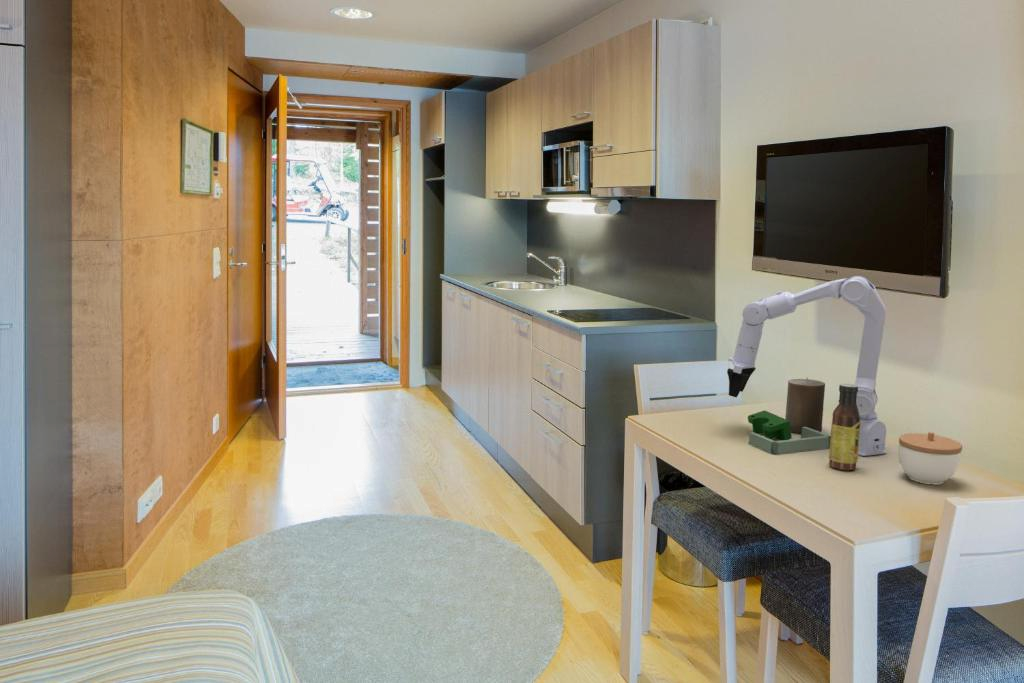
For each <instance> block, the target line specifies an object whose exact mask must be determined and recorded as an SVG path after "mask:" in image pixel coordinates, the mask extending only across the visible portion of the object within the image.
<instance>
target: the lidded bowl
mask: <svg viewBox="0 0 1024 683" xmlns="http://www.w3.org/2000/svg"><path fill="white" fill-rule="evenodd" d="M898 442H899V445H898V458H899V464H900V466H901V468H902V470H903V471H904V472H905V474H906V475H907V476H908V478H909V480H911V481H913V480H914V481H913V482H916V483H919V482H920V484H923V483H924V484H923V485H930V484H933V486H937V485H939V486H940V485H943V484H945V482H946V481H948V480H949V479H951V478H952V477H953V476H954V475H955V474H956V472H957V470H958V468H959V464H960V460H961V455H962V454H961V453H962V451H963V444H962V443H961V442H959V441H957V440H955V439H952V438H949V437H946V436H942V435H936V434H935V432H933V431H928V433H919V432H918V433H915V432H914V433H912V432H911V433H904V434H901V435H900V436H899V438H898Z"/></svg>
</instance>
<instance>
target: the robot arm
mask: <svg viewBox="0 0 1024 683" xmlns="http://www.w3.org/2000/svg"><path fill="white" fill-rule="evenodd" d="M824 298H831V299H834V300H835V299H836V300H839V299H841V298H842V300H844V301H845V303H848V304H849V305H851V306H854V307H855V308H856V309H857V310H858V311H859V312H860V313H861V314H862V315H863V316H864V322H863V323H864V324H863V331H862V336H861V343H860V349H859V354H858V356H859V357H858V363H857V370H856V378H855V382H854V385H857V386H858V392H857V398H856V402H857V403H856V404H857V408H858V411H859V415H860V419H861V422H860V437H859V448H858V456H862V457H868V456H873V455H874V456H875V455H883V454H884V455H885V454H887V453H888V452H887V451H886V450H885V448H886V436H887V427H886V424H885V423H884V422H882V421H880V420H879V418H878V413H876V411H875V409H876V405H877V403H878V401H879V400H878V394H877V392H876V386H877V373H878V369H879V368H878V367H879V362H880V355H881V348H882V341H883V335H884V330H885V329H884V328H885V323H886V322H885V321H886V315H887V308H886V306H885V304H884V301H883V300H882V299H881V296H880V295H879V292H878V291H877V288H876V287H875V285H874V284H873V283H872V282H871V281H870V280H868V279H867V278H866V277H864V276H861V275H854V276H852V277H849V278H847V277H845V278H841V279H836V280H831V281H827V282H825V283H822V284H820V285H816V286H814V287H811V288H809V289H806V290H803V291H799V292H797V293H791V292H790V291H782V290H780V291H777V292H776V294H775V295H772V296H768V297H766V298H764V297H760V298H758V300H759V301H753V302H751V303H749V304H747V305H746V306H744V308H743V310H742V313H741V314H742V315H741V316H742V318H743V319H742V322H741V326H740V329H739V332H738V333H739V334H738V338H737V341H736V345H735V349H734V353H733V357H731V356H729V357H728V358H727V360H728V361H729V362H731V363H732V365H733V369H732V368H727V371H726V374H727V376H728V396H730V397H734V398H736V399H737V398H738V396H739V395H740V393H742V392H744V390H745V388H746V386H747V384H748V381H749V380H750V378H751V376H752V375H753V373H754V372H755V371H756V359H757V354H758V351H759V347H760V342H761V340H762V335H763V329H764V324H765V321H767V320H773V319H777V318H779V317H784V316H787V315H789V314H793V313H794V312H796V310H797V307H799V306H801V305H804V304H808V303H812V302H815V301H817V300H821V299H824Z"/></svg>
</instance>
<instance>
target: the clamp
mask: <svg viewBox="0 0 1024 683" xmlns="http://www.w3.org/2000/svg"><path fill="white" fill-rule="evenodd" d="M747 421H748V424H749V423H750V424H751V425H752V432H754V433H756V434H759V435H762V434H763V436H764V437H766V438H769V439H771V440H774V439H777V440H778V441H782V440H791V439H792V432H791V429H790V422H789V420H786V419H785V418H783V417H781V416H779V415H777V414H775V413H772V412H770V411H768V410H766V409H763V410H762V411H757V412H756V413H752V414H748V416H747Z"/></svg>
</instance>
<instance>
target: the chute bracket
mask: <svg viewBox="0 0 1024 683" xmlns="http://www.w3.org/2000/svg"><path fill="white" fill-rule="evenodd" d="M800 436H801V438H800V437H799V438H793V439H792V438H791V439H789V440H782V441H781V440H774V439H769V438H766V437H764V435H762V434H756V433H754V432H753V431H751V432H749V434H748V444H749V445H750V444H751V445H750V446H753V447H754V448H757V447H758V449H760V450H761V451H764V452H767V453H768V454H771V455H774V456H775V455H782V454H783V455H784V454H791V453H792V454H793V453H799V452H808V451H817V450H823V449H825V450H826V449H830V438H831V434H830V435H829V434H826V433H825V432H822V431H821V432H819V431H816V430H813V429H811V428H808V427H802V434H801V435H800Z"/></svg>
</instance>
